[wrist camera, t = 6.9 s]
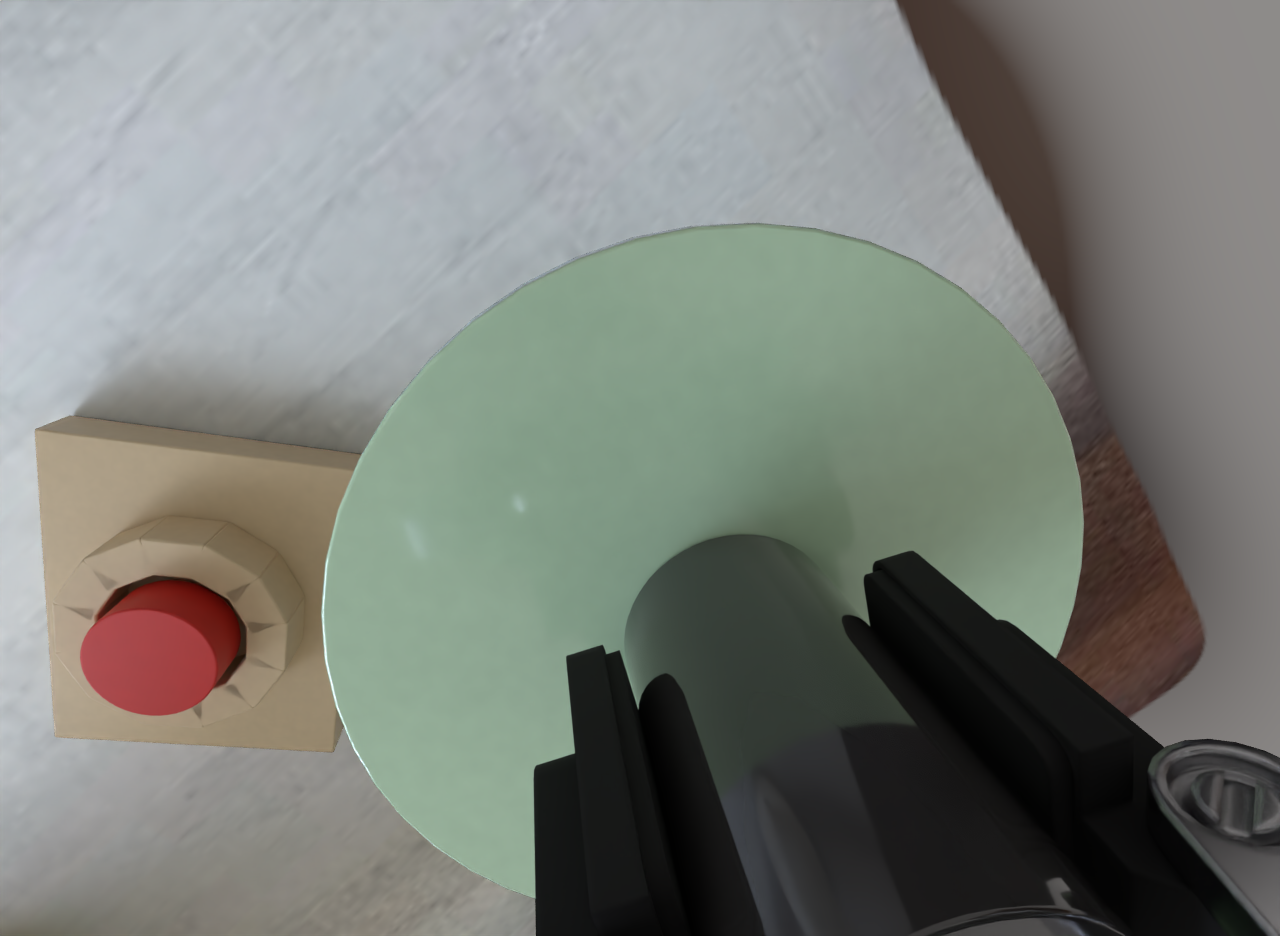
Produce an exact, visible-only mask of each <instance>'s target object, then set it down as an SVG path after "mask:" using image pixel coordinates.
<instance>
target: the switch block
mask: <svg viewBox="0 0 1280 936" xmlns="http://www.w3.org/2000/svg"><path fill="white" fill-rule="evenodd" d="M35 442H36V457H37V472H38V487H39V503H40V518H41V533H42V548H43V564H44V579H45V594H46V609H47V625H48V640H49V655H50V670H51V685H52V701H53V716H54V731H55V737H61V738H79V739H98V740H116V741H134V742H152V743H170V744H188V745H207V746H225V747H243V748H261V749H279V750H297V751H316V752H334V750H335V747H336V745H337V742H338V740H339V737H340V735H341V732H342V729H343V727H344V725H343V723H342V721H341V718H340V716H339V713H338V711H337V708H336V706H335V702H334V698H333V694H332V689H331V685H330V681H329V677H328V672H327V668H326V664H325V660H324V647H323V633H322V620H321V604H322V592H323V581H324V569H325V560H326V556H327V552H328V548H329V544H330V539H331V535H332V531H333V527H334V523H335V519H336V515H337V511H338V508H339V506H340V503H341V501H342V499H343V496H344V494H345V491H346V489H347V486H348V484H349V482H350V479H351V477H352V474H353V472H354V470H355V467H356V465H357V462H358V460H359V458H360V456H361V455H362V454H356V453H348V452H341V451H333V450H326V449H318V448H311V447H303V446H296V445H288V444H281V443H273V442H266V441H258V440H251V439H243V438H236V437H228V436H221V435H213V434H206V433H198V432H191V431H183V430H176V429H168V428H161V427H153V426H146V425H138V424H131V423H123V422H116V421H108V420H101V419H93V418H86V417H78V416H67V417H65V418H62V419H60V420H57V421H55V422H52V423H50V424H47V425H44V426H42V427H39V428H37V429H35ZM163 580H179V581H186V582H190V583H194V584H197V585H200V586H202V587H205V588H207V589H209V590H211V591H212V592H214V593H215V594H217V595H218V596H219V597H221V598H222V599H223V600H224V601H225V602H226V603H227V604H228V605H229V606H230V608H231V609H232V610H233V612H234V614H235V616H236V617H237V620H238V622H239V626H240V631H241V641H240V647H239V650H238V652H237V655H236V657H235V658H234V659H233V661H232V662H231V664H230V665H229V667H228V668H227V669H226V671H225V672H224V674H223V675H222V676H221V678H220V679H219V681H218V682H217V684H216V685H215V686H214V688H213V689H212V691H211V692H210V693H209V694H208V696H207V697H206V698H205V699H204V700H202V701H201V702H200V703H198V704H197V705H195V706H194V707H192V708H189V709H187V710H185V711H182V712H179V713H176V714H171V715H162V716H150V715H141V714H137V713H132V712H129V711H126V710H123V709H121V708H119V707H116V706H115V705H113V704H111V703H109V702H108V701H106V700H105V699H104V698H102V697H101V696H100V695H99V694H98V693H97V692H96V691H95V690H94V689H93V688H92V687H91V686H90V684H89V683H88V681H87V680H86V678H85V675H84V673H83V671H82V667H81V662H80V650H81V646H82V642H83V640H84V637H85V635H86V634H87V632H88V631H89V629H90V628H91V627H92V626H93V625H94V624H95V623H96V622H97V621H98V620H100V619H101V618H102V617H103V616H104V615H105V614H106V613H107V612H109V611H110V610H111V609H112V608H113V607H114V606H115V605H117V604H118V603H119V602H120V601H121V600H122V599H123V598H124V597H126V596H127V595H128V594H129V593H130V592H132V591H133V590H135V589H136V588H138V587H140V586H143V585H145V584H148V583H152V582H157V581H163Z"/></svg>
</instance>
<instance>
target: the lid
mask: <svg viewBox="0 0 1280 936" xmlns="http://www.w3.org/2000/svg"><path fill="white" fill-rule="evenodd" d="M1083 529H1084V518H1083V507H1082V495H1081V484H1080V477H1079V473H1078V468H1077V464H1076V460H1075V456H1074V451H1073V447H1072V443H1071V439H1070V436H1069V433H1068V431H1067V428H1066V426H1065V423H1064V421H1063V418H1062V416H1061V414H1060V411H1059V409H1058V406H1057V404H1056V401H1055V399H1054V396H1053V395H1052V393H1051V391H1050V390H1049V388H1048V386H1047V385H1046V383H1045V381H1044V380H1043V378H1042V376H1041V375H1040V373H1039V371H1038V370H1037V368H1036V366H1035V365H1034V363H1033V361H1032V360H1031V358H1030V357H1029V355H1028V354H1027V353H1026V352H1025V351H1024V349H1023V348H1022V347H1021V346H1020V345H1019V343H1018V342H1017V341H1016V340H1015V339H1014V338H1013V336H1012V335H1011V334H1010V333H1009V332H1008V330H1007V329H1006V328H1005V327H1004V326H1003V325H1002V323H1001V322H1000V321H999V320H998V319H997V318H996V317H995V316H993V315H992V314H991V313H990V312H989V311H988V310H986V309H985V308H984V307H983V306H982V305H981V304H979V303H978V302H977V301H976V300H975V299H974V298H972V297H971V296H970V295H969V294H968V293H967V292H965V291H964V290H963V289H962V288H960V287H959V286H957V285H955V284H954V283H952V282H951V281H949V280H947V279H946V278H944V277H942V276H941V275H939V274H937V273H936V272H934V271H933V270H931V269H929V268H928V267H926V266H924V265H923V264H921V263H919V262H918V261H915V260H913V259H910V258H908V257H906V256H903V255H901V254H898V253H896V252H894V251H891V250H889V249H886V248H884V247H881V246H879V245H877V244H874V243H872V242H869V241H865V240H861V239H857V238H853V237H849V236H845V235H841V234H837V233H833V232H829V231H824V230H820V229H816V228H807V227H796V226H785V225H774V224H763V223H738V224H720V225H701V226H688V227H683V228H678V229H673V230H668V231H663V232H657V233H652V234H647V235H642V236H637V237H632V238H629V239H626V240H623V241H621V242H618V243H615V244H612V245H609V246H606V247H603V248H600V249H597V250H595V251H592V252H589V253H586V254H583V255H580V256H577V257H575V258H573V259H571V260H569V261H567V262H565V263H563V264H561V265H559V266H557V267H555V268H553V269H551V270H549V271H547V272H545V273H543V274H541V275H539V276H537V277H535V278H533V279H531V280H529V281H527V282H526V283H524V284H522V285H520V286H519V287H517V288H516V289H515V290H513V291H512V292H510V293H509V294H507V295H506V296H504V297H503V298H502V299H500V300H499V301H497V302H496V303H494V304H493V305H492V306H490V307H489V308H487V309H486V310H484V311H483V312H481V313H480V314H479V315H477V316H476V317H474V318H473V319H472V320H471V321H470V322H469V323H468V324H466V325H465V326H464V327H463V328H462V329H461V330H460V331H459V332H458V333H457V334H456V335H455V336H453V337H452V338H451V339H450V340H449V341H448V342H447V343H446V344H445V345H444V346H443V347H442V348H440V349H439V350H438V351H437V352H436V353H435V354H434V355H433V356H432V357H431V358H430V359H429V360H428V361H427V363H426V364H425V365H424V366H423V367H422V369H421V370H420V371H419V372H418V374H417V375H416V376H415V377H414V378H413V380H412V381H411V382H410V383H409V385H408V386H407V387H406V388H405V389H404V391H403V392H402V393H401V394H400V396H399V397H398V398H397V399H396V400H395V402H394V403H393V404H392V406H391V407H390V408H389V410H388V411H387V413H386V415H385V416H384V418H383V420H382V421H381V423H380V425H379V426H378V428H377V430H376V431H375V433H374V435H373V436H372V438H371V440H370V441H369V443H368V445H367V446H366V448H365V450H364V451H363V453H362V455H361V456H360V458H359V460H358V462H357V465H356V467H355V470H354V472H353V474H352V477H351V479H350V482H349V484H348V486H347V489H346V491H345V494H344V496H343V499H342V501H341V503H340V506H339V508H338V511H337V515H336V519H335V523H334V527H333V531H332V535H331V539H330V544H329V548H328V552H327V556H326V560H325V569H324V581H323V592H322V604H321V620H322V633H323V647H324V660H325V664H326V668H327V672H328V677H329V681H330V685H331V689H332V694H333V698H334V702H335V706H336V708H337V711H338V713H339V716H340V718H341V721H342V723H343V725H344V728H345V730H346V733H347V735H348V737H349V740H350V742H351V745H352V747H353V749H354V751H355V752H356V754H357V756H358V757H359V759H360V761H361V762H362V764H363V766H364V767H365V769H366V770H367V772H368V774H369V775H370V777H371V779H372V780H373V782H374V784H375V785H376V787H377V788H378V789H379V790H380V791H381V793H382V794H383V795H384V796H385V797H386V798H387V800H388V801H389V802H390V803H391V804H392V806H393V807H394V808H395V809H396V810H397V812H398V813H399V814H400V815H401V816H402V818H403V819H404V820H406V821H407V822H408V823H409V824H410V825H411V826H412V827H413V828H414V829H416V830H417V831H418V832H419V833H420V834H421V835H422V836H423V837H425V838H426V839H427V840H428V841H429V842H430V843H431V844H432V845H434V846H435V847H436V848H437V849H439V850H440V851H442V852H443V853H445V854H446V855H448V856H449V857H451V858H452V859H454V860H455V861H457V862H458V863H460V864H461V865H463V866H464V867H466V868H467V869H469V870H470V871H472V872H474V873H476V874H478V875H480V876H482V877H484V878H486V879H488V880H490V881H492V882H494V883H496V884H498V885H500V886H502V887H504V888H506V889H509V890H512V891H515V892H517V893H520V894H523V895H526V896H529V897H531V898H534V899H535V842H534V781H533V779H534V769H535V766H536V765H539V764H542V763H545V762H549V761H552V760H555V759H558V758H561V757H564V756H568V755H571V754H574V753H575V748H574V738H573V727H572V717H571V706H570V696H569V685H568V675H567V664H566V656H567V655H570V654H574V653H577V652H580V651H583V650H587V649H590V648H593V647H596V646H600V645H603V646H604V649H605V652H606V654H609V653H612V652H615V651H618V650H620V653H621V656H622V659H623V662H624V665H625V668H626V672H627V675H628V678H629V681H630V685H631V688H632V691H633V694H634V698H635V701H636V704H637V707H638V711H639V715H640V719H641V723H642V728H643V732H644V736H645V741H646V745H647V749H648V753H649V758H650V762H651V766H652V770H653V775H654V779H655V783H656V787H657V792H658V796H659V800H660V804H661V809H662V813H663V817H664V821H665V826H666V830H667V834H668V838H669V843H670V847H671V851H672V856H673V860H674V864H675V868H676V873H677V877H678V881H679V885H680V890H681V894H682V898H683V902H684V907H685V911H686V915H687V919H688V924H689V928H690V932H691V936H1136V935H1135V934H1134V933H1133V932H1132V931H1131V930H1130V928H1129V927H1128V926H1127V925H1126V924H1125V923H1124V921H1123V920H1122V919H1121V918H1120V917H1119V916H1118V914H1117V913H1116V912H1115V911H1114V910H1113V909H1112V907H1111V906H1110V905H1109V904H1108V903H1107V902H1106V900H1105V899H1104V898H1103V897H1102V896H1101V895H1100V893H1099V892H1098V891H1097V890H1096V889H1095V888H1094V887H1093V885H1092V884H1091V883H1090V882H1089V881H1088V880H1087V878H1086V877H1085V876H1084V875H1083V874H1082V873H1081V871H1080V870H1079V869H1078V868H1077V867H1076V866H1075V864H1074V863H1073V862H1072V861H1071V860H1070V859H1069V857H1068V856H1067V855H1066V854H1065V853H1064V852H1063V850H1062V849H1061V848H1060V847H1059V846H1058V845H1057V843H1056V842H1055V841H1054V840H1053V839H1052V838H1051V837H1050V835H1049V834H1048V833H1047V832H1046V831H1045V830H1044V828H1043V827H1042V826H1041V825H1040V824H1039V823H1038V821H1037V820H1036V819H1035V818H1034V817H1033V816H1032V814H1031V813H1030V812H1029V811H1028V810H1027V809H1026V807H1025V806H1024V805H1023V804H1022V803H1021V802H1020V800H1019V799H1018V798H1017V797H1016V796H1015V795H1014V793H1013V792H1012V791H1011V790H1010V789H1009V788H1008V787H1007V785H1006V784H1005V783H1004V782H1003V781H1002V780H1001V778H1000V777H999V776H998V775H997V774H996V773H995V771H994V770H993V769H992V768H991V767H990V766H989V764H988V763H987V762H986V761H985V760H984V759H983V757H982V756H981V755H980V754H979V753H978V752H977V750H976V749H975V748H974V747H973V746H972V745H971V743H970V742H969V741H968V740H967V739H966V738H965V736H964V735H963V734H962V733H961V732H960V731H959V730H958V728H957V727H956V726H955V725H954V724H953V723H952V721H951V720H950V719H949V718H948V717H947V716H946V714H945V713H944V712H943V711H942V710H941V709H940V707H939V706H938V705H937V704H936V703H935V702H934V700H933V699H932V698H931V697H930V696H929V695H928V693H927V692H926V691H925V690H924V689H923V688H922V686H921V685H920V684H919V683H918V682H917V681H916V680H915V678H914V677H913V676H912V675H911V674H910V673H909V671H908V670H907V669H906V668H905V667H904V666H903V664H902V663H901V662H900V661H899V660H898V659H897V657H896V656H895V655H894V654H893V653H892V652H891V650H890V649H889V648H888V647H887V646H886V645H885V643H884V642H883V641H882V640H881V639H880V638H879V636H878V635H877V634H876V633H875V632H874V631H873V629H872V628H871V627H870V623H869V616H868V610H867V603H866V596H865V589H864V576H865V575H866V574H869V573H872V572H873V570H872V568H873V563H874V562H875V561H877V560H880V559H884V558H887V557H890V556H894V555H897V554H900V553H903V552H907V551H914V552H916V553H918V554H919V555H920V556H921V557H922V558H924V559H925V560H926V561H927V562H928V563H930V564H931V565H932V566H933V567H934V568H935V569H937V570H938V571H939V572H940V573H941V574H943V575H944V576H945V577H946V578H947V579H949V580H950V581H951V582H952V583H953V584H955V585H956V586H957V587H958V588H959V589H961V590H962V591H963V592H964V593H965V594H966V595H968V596H969V597H970V598H971V599H972V600H974V601H975V602H976V603H977V604H978V605H980V606H981V607H982V608H983V609H984V610H986V611H987V612H988V613H989V614H990V615H992V616H993V617H994V618H995V619H996V620H999V619H1001V620H1006V621H1009V622H1010V623H1012V624H1013V625H1015V626H1017V627H1018V628H1019V629H1020V630H1021V631H1023V632H1024V633H1025V634H1026V635H1028V636H1029V637H1030V638H1031V639H1032V640H1034V641H1035V642H1036V643H1037V644H1039V645H1040V646H1041V647H1042V648H1043V649H1045V650H1046V651H1047V652H1048V653H1050V654H1051V655H1052V656H1053V657H1054V658H1056V657H1057V655H1058V653H1059V650H1060V648H1061V646H1062V643H1063V640H1064V636H1065V633H1066V630H1067V627H1068V624H1069V621H1070V617H1071V614H1072V611H1073V608H1074V604H1075V598H1076V593H1077V587H1078V582H1079V576H1080V571H1081V566H1082V549H1083Z"/></svg>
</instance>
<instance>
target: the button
mask: <svg viewBox="0 0 1280 936" xmlns="http://www.w3.org/2000/svg"><path fill="white" fill-rule="evenodd" d="M240 641H241V631H240V626H239V622H238V620H237V617H236V616H235V614H234V612H233V610H232V609H231V608H230V606H229V605H228V604H227V603H226V602H225V601H224V600H223V599H222V598H221V597H219V596H218V595H217V594H215V593H214V592H212V591H211V590H209V589H207V588H205V587H202V586H200V585H197V584H194V583H190V582H186V581H179V580H163V581H157V582H152V583H148V584H145V585H143V586H140V587H138V588H136V589H135V590H133V591H132V592H130V593H129V594H128V595H127V596H126V597H124V598H123V599H122V600H121V601H120V602H119V603H118V604H117V605H115V606H114V607H113V608H112V609H111V610H110V611H109V612H107V613H106V614H105V615H104V616H103V617H102V618H101V619H100V620H98V621H97V622H96V623H95V624H94V625H93V626H92V627H91V628H90V629H89V631H88V632H87V634H86V635H85V637H84V640H83V642H82V646H81V650H80V662H81V667H82V671H83V673H84V675H85V678H86V680H87V681H88V683H89V684H90V686H91V687H92V688H93V689H94V690H95V691H96V692H97V693H98V694H99V695H100V696H101V697H102V698H104V699H105V700H106V701H108V702H109V703H111V704H113V705H115V706H116V707H119V708H121V709H123V710H126V711H129V712H132V713H137V714H141V715H150V716H162V715H171V714H176V713H179V712H182V711H185V710H187V709H189V708H192V707H194V706H195V705H197V704H198V703H200V702H201V701H202V700H204V699H205V698H206V697H207V696H208V694H209V693H210V692H211V691H212V689H213V688H214V686H215V685H216V684H217V682H218V681H219V679H220V678H221V676H222V675H223V674H224V672H225V671H226V669H227V668H228V667H229V665H230V664H231V662H232V661H233V659H234V658H235V657H236V655H237V652H238V650H239V647H240Z"/></svg>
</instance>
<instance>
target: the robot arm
mask: <svg viewBox="0 0 1280 936" xmlns="http://www.w3.org/2000/svg"><path fill="white" fill-rule="evenodd" d="M872 570H873V572H872V573H869V574H866V575H865V576H864V589H865V596H866V603H867V610H868V616H869V623H870V627H871V628H872V629H873V631H874V632H875V633H876V634H877V635H878V636H879V638H880V639H881V640H882V641H883V642H884V643H885V645H886V646H887V647H888V648H889V649H890V650H891V652H892V653H893V654H894V655H895V656H896V657H897V659H898V660H899V661H900V662H901V663H902V664H903V666H904V667H905V668H906V669H907V670H908V671H909V673H910V674H911V675H912V676H913V677H914V678H915V680H916V681H917V682H918V683H919V684H920V685H921V686H922V688H923V689H924V690H925V691H926V692H927V693H928V695H929V696H930V697H931V698H932V699H933V700H934V702H935V703H936V704H937V705H938V706H939V707H940V709H941V710H942V711H943V712H944V713H945V714H946V716H947V717H948V718H949V719H950V720H951V721H952V723H953V724H954V725H955V726H956V727H957V728H958V730H959V731H960V732H961V733H962V734H963V735H964V736H965V738H966V739H967V740H968V741H969V742H970V743H971V745H972V746H973V747H974V748H975V749H976V750H977V752H978V753H979V754H980V755H981V756H982V757H983V759H984V760H985V761H986V762H987V763H988V764H989V766H990V767H991V768H992V769H993V770H994V771H995V773H996V774H997V775H998V776H999V777H1000V778H1001V780H1002V781H1003V782H1004V783H1005V784H1006V785H1007V787H1008V788H1009V789H1010V790H1011V791H1012V792H1013V793H1014V795H1015V796H1016V797H1017V798H1018V799H1019V800H1020V802H1021V803H1022V804H1023V805H1024V806H1025V807H1026V809H1027V810H1028V811H1029V812H1030V813H1031V814H1032V816H1033V817H1034V818H1035V819H1036V820H1037V821H1038V823H1039V824H1040V825H1041V826H1042V827H1043V828H1044V830H1045V831H1046V832H1047V833H1048V834H1049V835H1050V837H1051V838H1052V839H1053V840H1054V841H1055V842H1056V843H1057V845H1058V846H1059V847H1060V848H1061V849H1062V850H1063V852H1064V853H1065V854H1066V855H1067V856H1068V857H1069V859H1070V860H1071V861H1072V862H1073V863H1074V864H1075V866H1076V867H1077V868H1078V869H1079V870H1080V871H1081V873H1082V874H1083V875H1084V876H1085V877H1086V878H1087V880H1088V881H1089V882H1090V883H1091V884H1092V885H1093V887H1094V888H1095V889H1096V890H1097V891H1098V892H1099V893H1100V895H1101V896H1102V897H1103V898H1104V899H1105V900H1106V902H1107V903H1108V904H1109V905H1110V906H1111V907H1112V909H1113V910H1114V911H1115V912H1116V913H1117V914H1118V916H1119V917H1120V918H1121V919H1122V920H1123V921H1124V923H1125V924H1126V925H1127V926H1128V927H1129V928H1130V930H1131V931H1132V932H1133V933H1134V934H1135V935H1136V936H1280V758H1279V757H1277V756H1275V755H1273V754H1271V753H1268V752H1266V751H1264V750H1260V749H1257V748H1254V747H1250V746H1247V745H1243V744H1239V743H1236V742H1229V741H1221V740H1213V739H1200V740H1185V741H1181V742H1178V743H1175V744H1172V745H1169V746H1166V747H1165V748H1164V747H1163V746H1162V745H1161V744H1159V743H1158V742H1157V741H1156V740H1155V739H1153V738H1152V737H1151V736H1150V735H1148V734H1147V733H1146V732H1145V731H1144V730H1142V729H1141V728H1140V727H1139V726H1138V725H1136V724H1135V723H1134V722H1133V721H1131V720H1130V719H1129V718H1128V717H1127V716H1125V715H1124V714H1123V713H1122V712H1120V711H1119V710H1118V709H1117V708H1116V707H1114V706H1113V705H1112V704H1111V703H1109V702H1108V701H1107V700H1106V699H1105V698H1103V697H1102V696H1101V695H1100V694H1098V693H1097V692H1096V691H1095V690H1094V689H1092V688H1091V687H1090V686H1089V685H1087V684H1086V683H1085V682H1084V681H1083V680H1081V679H1080V678H1079V677H1078V676H1076V675H1075V674H1074V673H1073V672H1072V671H1070V670H1069V669H1068V668H1067V667H1065V666H1064V665H1063V664H1062V663H1061V662H1059V661H1058V660H1057V659H1056V658H1054V657H1053V656H1052V655H1051V654H1050V653H1048V652H1047V651H1046V650H1045V649H1043V648H1042V647H1041V646H1040V645H1039V644H1037V643H1036V642H1035V641H1034V640H1032V639H1031V638H1030V637H1029V636H1028V635H1026V634H1025V633H1024V632H1023V631H1021V630H1020V629H1019V628H1018V627H1017V626H1015V625H1013V624H1012V623H1010V622H1009V621H1006V620H1001V619H999V620H996V619H995V618H994V617H993V616H992V615H990V614H989V613H988V612H987V611H986V610H984V609H983V608H982V607H981V606H980V605H978V604H977V603H976V602H975V601H974V600H972V599H971V598H970V597H969V596H968V595H966V594H965V593H964V592H963V591H962V590H961V589H959V588H958V587H957V586H956V585H955V584H953V583H952V582H951V581H950V580H949V579H947V578H946V577H945V576H944V575H943V574H941V573H940V572H939V571H938V570H937V569H935V568H934V567H933V566H932V565H931V564H930V563H928V562H927V561H926V560H925V559H924V558H922V557H921V556H920V555H919V554H918V553H916V552H914V551H907V552H903V553H900V554H897V555H894V556H890V557H887V558H884V559H880V560H877V561H875V562H874V563H873V568H872ZM566 664H567V675H568V685H569V696H570V706H571V717H572V727H573V738H574V748H575V753H574V754H571V755H568V756H564V757H561V758H558V759H555V760H552V761H549V762H545V763H542V764H539V765H536V766H535V769H534V779H533V781H534V842H535V903H536V936H691V932H690V928H689V924H688V919H687V915H686V911H685V907H684V902H683V898H682V894H681V890H680V885H679V881H678V877H677V873H676V868H675V864H674V860H673V856H672V851H671V847H670V843H669V838H668V834H667V830H666V826H665V821H664V817H663V813H662V809H661V804H660V800H659V796H658V792H657V787H656V783H655V779H654V775H653V770H652V766H651V762H650V758H649V753H648V749H647V745H646V741H645V736H644V732H643V728H642V723H641V719H640V715H639V711H638V707H637V704H636V701H635V698H634V694H633V691H632V688H631V685H630V681H629V678H628V675H627V672H626V668H625V665H624V662H623V659H622V656H621V653H620V650H618V651H615V652H612V653H609V654H606V652H605V649H604V646H603V645H600V646H596V647H593V648H590V649H587V650H583V651H580V652H577V653H574V654H570V655H567V656H566Z"/></svg>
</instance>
